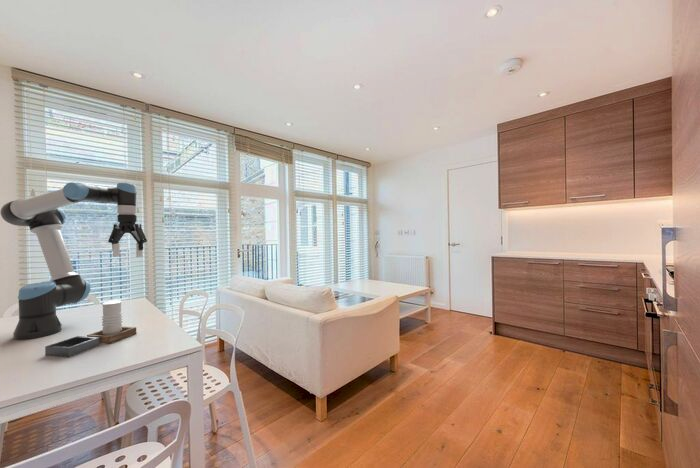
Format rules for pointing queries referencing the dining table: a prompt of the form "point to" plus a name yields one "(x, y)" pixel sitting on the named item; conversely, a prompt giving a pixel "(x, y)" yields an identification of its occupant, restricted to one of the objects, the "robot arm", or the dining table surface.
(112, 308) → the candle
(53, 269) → the robot arm
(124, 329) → the tray
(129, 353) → the dining table surface
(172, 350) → the dining table surface
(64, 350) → the shallow grey tray
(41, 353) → the dining table surface
